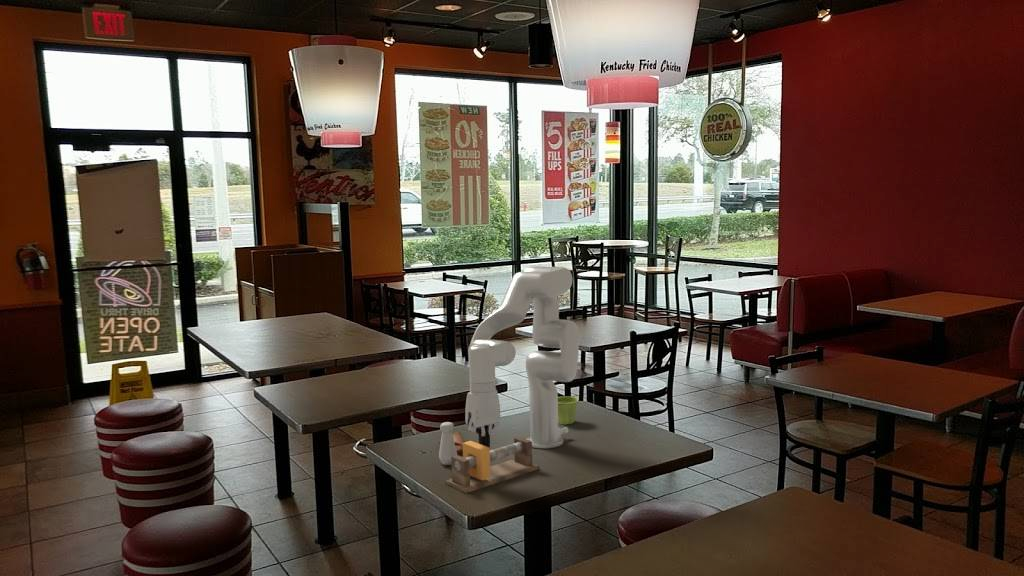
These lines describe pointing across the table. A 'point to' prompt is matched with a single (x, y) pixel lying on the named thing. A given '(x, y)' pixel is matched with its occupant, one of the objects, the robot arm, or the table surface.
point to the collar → (478, 459)
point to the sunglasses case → (458, 443)
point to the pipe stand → (497, 472)
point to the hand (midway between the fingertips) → (484, 447)
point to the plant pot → (566, 409)
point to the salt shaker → (447, 443)
